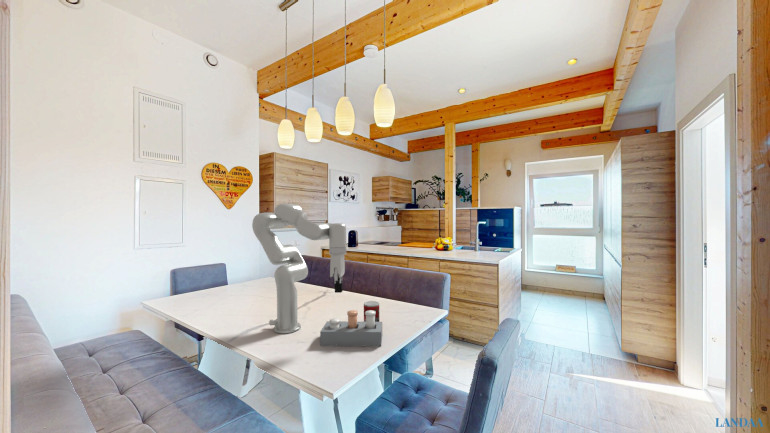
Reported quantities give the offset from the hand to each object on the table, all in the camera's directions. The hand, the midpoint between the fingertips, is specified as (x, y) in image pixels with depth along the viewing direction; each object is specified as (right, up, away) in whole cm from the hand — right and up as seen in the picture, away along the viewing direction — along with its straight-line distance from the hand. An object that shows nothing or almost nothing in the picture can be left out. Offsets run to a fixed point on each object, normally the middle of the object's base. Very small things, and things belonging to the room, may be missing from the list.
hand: (338, 292), depth 130 cm
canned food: (+14, -22, +18) cm, 31 cm away
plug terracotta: (+6, -17, 0) cm, 18 cm away
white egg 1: (-2, -21, 0) cm, 21 cm away
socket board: (+6, -21, 0) cm, 22 cm away
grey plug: (+14, -17, 0) cm, 22 cm away
